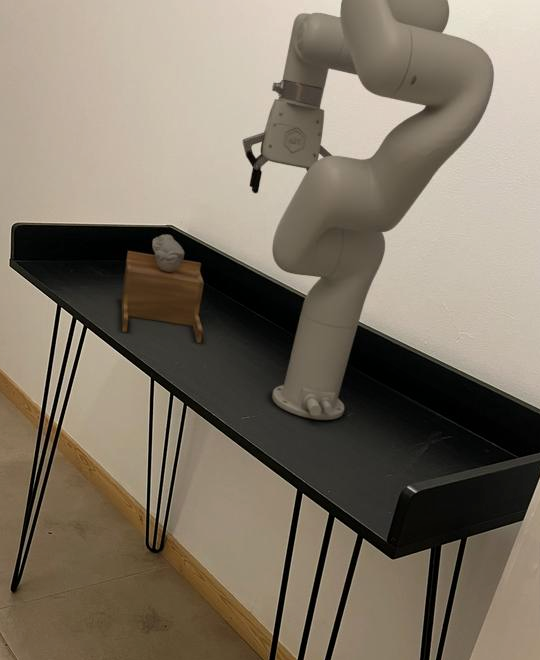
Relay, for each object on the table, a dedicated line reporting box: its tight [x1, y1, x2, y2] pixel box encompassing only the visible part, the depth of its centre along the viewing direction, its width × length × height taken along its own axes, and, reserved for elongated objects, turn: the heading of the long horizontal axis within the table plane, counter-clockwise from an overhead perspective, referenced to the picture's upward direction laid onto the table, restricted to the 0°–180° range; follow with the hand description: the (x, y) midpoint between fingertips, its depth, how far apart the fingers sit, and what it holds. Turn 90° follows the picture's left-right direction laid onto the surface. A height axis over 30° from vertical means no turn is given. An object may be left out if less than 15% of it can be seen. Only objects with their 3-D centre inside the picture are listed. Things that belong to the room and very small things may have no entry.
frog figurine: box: [151, 234, 185, 272], centre depth 168 cm, size 6×7×7 cm
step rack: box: [120, 250, 205, 344], centre depth 168 cm, size 20×15×10 cm
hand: (279, 196), depth 156 cm, fingers open, 9 cm apart
